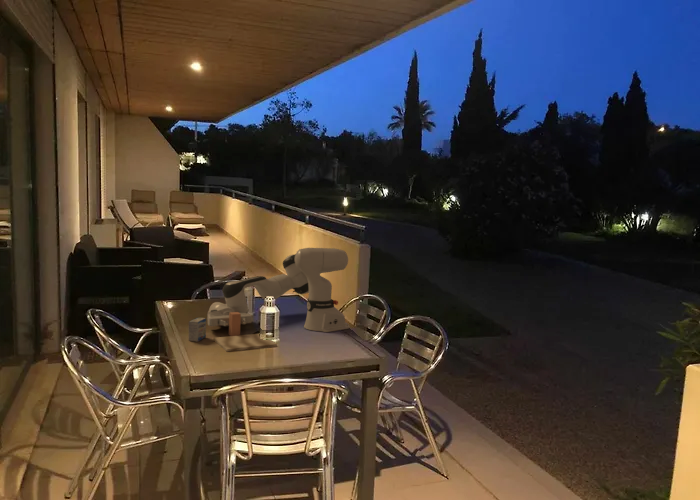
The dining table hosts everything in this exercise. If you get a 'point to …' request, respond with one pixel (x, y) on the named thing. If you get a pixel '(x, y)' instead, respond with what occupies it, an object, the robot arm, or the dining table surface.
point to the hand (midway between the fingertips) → (235, 323)
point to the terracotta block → (234, 323)
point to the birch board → (243, 342)
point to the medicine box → (197, 329)
